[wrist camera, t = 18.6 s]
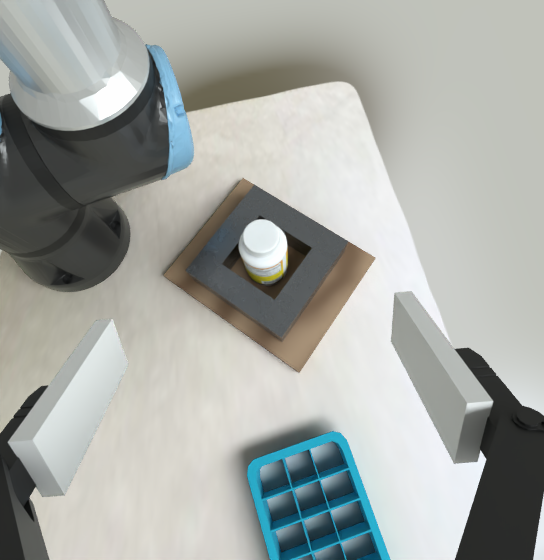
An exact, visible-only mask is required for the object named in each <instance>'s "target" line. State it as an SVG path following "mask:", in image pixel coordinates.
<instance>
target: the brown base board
mask: <svg viewBox="0 0 544 560" xmlns="http://www.w3.org/2000/svg"><path fill="white" fill-rule="evenodd" d="M253 186H254V184H252V183H250V182H249V181H247V180H245V179H244V178H243V179H242V180H241V181H240V182H239V184H238V185H237V186H236V187H235V188H234V190H233V191H232V192H231V193H230V195H229V196H228V197H227V198H226V199H225V201H224V202H223V203H222V204H221V206H220V207H219V208H218V209H217V210H216V212H215V213H214V214H213V215H212V217H211V218H210V219H209V220H208V221H207V223H206V224H205V225H204V226H203V228H202V229H201V230H200V231H199V232H198V234H197V235H196V236H195V237H194V239H193V240H192V241H191V242H190V243H189V245H188V246H187V247H186V248H185V250H184V251H183V252H182V253H181V254H180V256H179V257H178V258H177V259H176V261H175V262H174V263H173V264H172V265H171V267H170V268H169V269H168V270H167V272H166V273H165V274H164V276H165V277H166V278H167V279H169V280H170V281H171V282H173V283H174V284H176V285H177V286H178V287H180V288H181V289H183V290H184V291H185V292H187V293H188V294H190V295H191V296H192V297H194V298H195V299H197V300H198V301H199V302H201V303H202V304H204V305H205V306H206V307H208V308H209V309H211V310H212V311H213V312H215V313H216V314H218V315H219V316H220V317H222V318H223V319H225V320H226V321H227V322H229V323H230V324H232V325H233V326H234V327H236V328H237V329H239V330H240V331H241V332H243V333H244V334H246V335H247V336H248V337H250V338H251V339H253V340H254V341H255V342H257V343H258V344H260V345H261V346H262V347H264V348H265V349H267V350H268V351H269V352H271V353H272V354H274V355H275V356H276V357H278V358H279V359H281V360H282V361H283V362H285V363H286V364H288V365H289V366H290V367H292V368H293V369H295V370H296V371H297V372H300V371H301V369H302V368H303V366H304V365H305V363H306V362H307V360H308V359H309V357H310V356H311V354H312V353H313V351H314V350H315V348H316V347H317V345H318V344H319V342H320V341H321V339H322V338H323V336H324V335H325V333H326V332H327V330H328V329H329V327H330V326H331V324H332V323H333V321H334V320H335V318H336V317H337V315H338V314H339V312H340V311H341V309H342V308H343V306H344V305H345V303H346V302H347V300H348V299H349V297H350V296H351V294H352V293H353V291H354V290H355V288H356V287H357V285H358V284H359V282H360V281H361V279H362V278H363V276H364V275H365V273H366V272H367V270H368V269H369V267H370V266H371V264H372V263H373V261H374V260H375V257H373V256H372V255H370V254H368V253H367V252H365V251H363V250H362V249H360V248H358V247H357V246H355V245H353V244H352V243H350V242H348V244H347V246H346V249H345V251H344V254H343V255H342V257H341V258H340V260H339V261H338V262H337V264H336V265H335V267H334V268H333V270H332V271H331V273H330V274H329V275H328V277H327V278H326V280H325V281H324V283H323V284H322V286H321V287H320V288H319V290H318V291H317V293H316V294H315V296H314V297H313V299H312V300H311V301H310V303H309V304H308V306H307V307H306V309H305V310H304V312H303V313H302V314H301V316H300V317H299V319H298V320H297V322H296V323H295V325H294V326H293V327H292V329H291V330H290V332H289V333H288V335H287V336H286V338H285V339H284V340H283V342H281V341H280V340H278V339H277V338H275V337H274V336H273V335H271V334H270V333H268V332H267V331H265V330H264V329H263V328H261V327H260V326H258V325H257V324H256V323H254V322H253V321H251V320H250V319H248V318H247V317H246V316H244V315H243V314H241V313H240V312H238V311H237V310H236V309H234V308H233V307H231V306H230V305H228V304H227V303H226V302H224V301H223V300H221V299H220V298H218V297H217V296H216V295H214V294H213V293H211V292H210V291H208V290H207V289H206V288H204V287H203V286H201V285H200V284H198V283H197V282H196V281H194V280H193V279H192V278H191V276H190V275H189V274H188V273H187V272H186V271H185V270H186V269H187V268H188V266H189V265H190V264H191V263H192V261H193V260H194V259H195V258H196V256H197V255H198V254H199V253H200V251H201V250H202V249H203V248H204V246H205V245H206V244H207V243H208V241H209V240H210V239H211V238H212V237H213V235H214V234H215V233H216V232H217V230H218V229H219V228H220V227H221V225H222V224H223V223H224V222H225V220H226V219H227V218H228V217H229V215H230V214H231V213H232V212H233V210H234V209H235V208H236V207H237V205H238V204H239V203H240V202H241V200H242V199H243V198H244V197H245V195H246V194H247V193H248V192H249V191H250V189H251V188H252V187H253ZM287 250H288V270H287V273H286V275H285V277H284V278H283V279H282V280H281V281H280V282H278V283H276V284H274V285H270V286H264V285H260V284H257V283H256V282H254V281H253V280H252V279H251V278H250V277H249V275H248V273H247V270H246V268H245V265H244V263H243V260H242V257H240V258H239V259H238V260H237V262H236V263H235V264H234V266H233V267H232V268H231V271H233V272H234V273H236V274H237V275H239V276H240V277H242V278H243V279H245V280H246V281H248V282H249V283H251V284H252V285H254V286H255V287H256V288H258V289H259V290H261V291H262V292H264V293H265V294H267V295H268V296H270V297H271V298H273V299H274V300H275V299H276V297H277V296H278V295H279V293H280V292H281V290H282V289H283V288H284V286H285V285H286V284H287V282H288V281H289V279H290V278H291V277H292V275H293V274H294V272H295V271H296V270H297V268H298V267H299V265H300V264H301V263H302V261H303V260H304V259H305V257H306V256H304V255H303V254H301V253H300V252H298V251H297V250H295V249H293V248H292V247H290V246H289V245H287Z"/></svg>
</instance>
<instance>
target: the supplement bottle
mask: <svg viewBox="0 0 544 560" xmlns="http://www.w3.org/2000/svg"><path fill="white" fill-rule="evenodd" d="M239 252H240V255H241V257H242V260H243V263H244V265H245V268H246V270H247V273H248V275H249V277H250V278H251V279H252V280H253V281H254V282H256V283H257V284H260V285H264V286H270V285H274V284H276V283H278V282H280V281H281V280H282V279H283V278H284V277H285V275H286V273H287V270H288V250H287V239H286V236H285V234H284V233H283V231H282V230H281V229H280V228H279V227H278V226H276V225H275V224H274V223H272V222H271V221H268V220H264V219H259V220H255V221H253V222H251V223H249V224H248V225H247V226H246V228H245V230H244V232H243V233H242V235H241V237H240V240H239Z"/></svg>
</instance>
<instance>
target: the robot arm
mask: <svg viewBox="0 0 544 560" xmlns="http://www.w3.org/2000/svg"><path fill="white" fill-rule="evenodd" d="M0 59H1V60H2V61H3V62H4V64H5V65H6V66H7V67H8V68H9V69H10V75H9V87H10V92H11V94H8V95H4V96H1V97H0V249H1V250H4V251H6V252H8V253H9V254H10V255H11V257H12V258H13V259H14V260H15V261H16V263H17V264H18V265H19V266H20V268H21V269H22V270H23V271H24V272H25V273H26V274H27V275H28V276H29V277H30V278H31V279H33V280H34V281H36V282H37V283H39V284H41V285H44V286H46V287H48V288H51V289H53V290H57V291H63V292H74V291H81V290H85V289H88V288H90V287H93V286H95V285H97V284H99V283H101V282H102V281H104V280H105V279H106V278H108V277H109V276H110V275H111V274H112V273H113V272H114V271H115V270H116V269H117V268H118V266H119V265H120V264H121V262H122V261H123V259H124V257H125V255H126V253H127V250H128V247H129V242H130V226H129V222H128V219H127V217H126V215H125V213H124V212H123V210H122V209H121V208H120V207H119V206H118V205H117V203H116V202H115V201H114V200H113V199H112V198H110V197H112V196H115V195H118V194H121V193H124V192H127V191H130V190H132V189H135V188H138V187H141V186H144V185H147V184H150V183H153V182H155V181H158V180H164V179H166V178H168V177H169V176H170V175H171V174H173V173H176V172H178V171H180V170H183V169H185V168H187V167H188V166H189V165H190V164H191V162H192V160H193V157H194V146H193V140H192V135H191V130H190V126H189V122H188V118H187V115H186V112H185V110H184V105H183V102H182V98H181V94H180V90H179V87H178V84H177V82H176V79H175V75H174V73H173V70H172V67H171V65H170V63H169V60H168V58H167V56H166V54H165V52H164V50H163V49H162V48H161V47H159V46H157V45H153V46H150V45H147V44H146V45H145V44H144V42H143V40H142V39H141V37H140V36H139V35H138V33H137V32H136V31H135V30H134V29H133V28H132V27H130V26H129V25H128V24H126V23H125V22H122V21H121V20H119V19H116V18H114V17H112V16H111V14H110V12H109V10H108V8H107V6H106V4H105V1H104V0H0ZM391 342H392V344H393V346H394V348H395V350H396V352H397V354H398V356H399V358H400V360H401V362H402V363H403V365H404V367H405V369H406V371H407V373H408V375H409V377H410V379H411V381H412V383H413V385H414V387H415V389H416V391H417V393H418V394H419V396H420V398H421V400H422V402H423V404H424V406H425V408H426V410H427V412H428V414H429V416H430V418H431V420H432V422H433V424H434V426H435V427H436V429H437V431H438V433H439V435H440V437H441V439H442V441H443V443H444V445H445V447H446V449H447V451H448V453H449V455H450V457H451V459H452V460H453V462H454V464H455V463H468V462H477V461H478V457H479V454H480V450H481V451H482V453H483V454H484V456H485V458H486V459H487V460H486V463H485V466H484V469H483V472H482V475H481V479H480V482H479V485H478V488H477V491H476V495H475V498H474V501H473V504H472V507H471V510H470V514H469V517H468V520H467V523H466V526H465V529H464V533H463V536H462V539H461V542H460V545H459V548H458V552H457V555H456V558H455V560H533V556H534V549H535V543H536V537H537V531H538V525H539V519H540V512H541V506H542V499H543V494H544V416H543V415H542V414H541V413H539V412H538V411H535V410H534V409H532V408H529V407H525V406H522V405H521V404H520V403H519V401H518V400H517V399H516V398H515V396H514V395H513V394H512V393H511V391H510V390H509V389H508V388H507V387H506V385H505V384H504V383H503V382H502V381H501V379H500V378H499V377H498V376H496V373H495V372H494V371H493V370H492V368H490V367H489V365H488V364H487V362H485V360H484V359H483V358H482V356H480V355H479V354H477V353H476V352H474V351H473V350H471V349H469V348H461V349H454V348H453V346H452V345H451V344H450V342H449V341H448V340H447V338H446V337H445V336H444V334H443V333H442V332H441V330H440V329H439V328H438V326H437V325H436V324H435V322H434V321H433V320H432V318H431V317H430V316H429V314H428V313H427V312H426V310H425V309H424V308H423V306H422V305H421V304H420V302H419V301H418V299H417V298H416V297H415V295H414V294H413V293H412V291H409V292H398V293H395V295H394V308H393V321H392V335H391ZM128 365H129V364H128V361H127V359H126V356H125V353H124V350H123V347H122V344H121V342H120V339H119V336H118V333H117V330H116V328H115V325H114V322H113V319H103V320H96V321H95V322H94V324H93V325H92V327H91V328H90V329H89V331H88V332H87V333H86V335H85V336H84V338H83V339H82V340H81V342H80V343H79V344H78V346H77V347H76V349H75V350H74V351H73V353H72V354H71V356H70V357H69V358H68V360H67V361H66V362H65V364H64V365H63V367H62V368H61V369H60V371H59V372H58V373H57V375H56V376H55V378H54V379H53V380H52V382H51V383H50V385H49V386H41V387H40V388H38V389H37V390H36V391H35V392H34V393H32V394H31V395H30V396H29V397H28V398H27V399H26V401H25V402H24V403H23V405H22V406H21V407H20V408H21V409H19V410H18V411H17V412H16V414H15V415H14V418H13V419H11V420H10V422H9V423H8V424H7V426H6V427H5V428H4V430H3V431H2V432H1V433H0V560H49V557H48V553H47V550H46V547H45V543H44V540H43V536H42V533H41V529H40V526H39V522H38V519H37V515H36V512H35V508H34V505H33V503H32V501H31V500H30V498H29V497H30V495H31V494H32V492H33V490H34V488H35V487H36V488H37V489H38V491H39V492H40V494H41V495H42V497H49V496H62V495H65V494H66V492H67V489H68V487H69V485H70V483H71V481H72V479H73V477H74V475H75V473H76V471H77V469H78V467H79V465H80V463H81V461H82V459H83V457H84V455H85V453H86V451H87V449H88V446H89V444H90V442H91V440H92V438H93V436H94V434H95V432H96V430H97V428H98V426H99V424H100V422H101V420H102V418H103V416H104V414H105V412H106V410H107V408H108V406H109V403H110V401H111V399H112V397H113V395H114V393H115V391H116V389H117V387H118V385H119V383H120V381H121V379H122V377H123V375H124V373H125V371H126V369H127V367H128Z"/></svg>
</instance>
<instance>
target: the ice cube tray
mask: <svg viewBox="0 0 544 560" xmlns="http://www.w3.org/2000/svg"><path fill="white" fill-rule="evenodd" d="M331 441H332V442H334V443H335V444H336V445H337V447H338V448H339V450H340V453H341V456H342V459H343V461H344V464H342V465H339V466H337V467H334V468H331V469H328V470H326V471H323V472H320V473H318V472H317V469H316V466H315V463H314V460H313V457H312V454H311V451H310V449H311V448H314V447H317V446H320V445H323V444H325V443H328V442H331ZM306 450H309V451H310V454H311V457H312V460H313V463H314V466H315V469H316V472H317V474H315V475H312V476H309V477H306V478H304V479H301V480H298V481H295V482H292V480H291V477H290V474H289V471H288V468H287V464H286V461H285V458H286V457H289V456H292V455H295V454H297V453H300V452H303V451H306ZM281 459H282V460H283V463H284V466H285V470H286V473H287V476H288V479H289V483H290V484H287V485H284V486H281V487H279V488H276V489H273V490H270V491H268V492H265V493H264V489H263V486H262V482H261V479H260V469H261V467H262V466H264V465H267V464H270V463H272V462H275V461H278V460H281ZM344 471H347V473H348V476H349V478H350V481H351V484H352V487H353V490H354V492H353V493H350V494H347V495H344V496H342V497H339V498H336V499H333V500H331V501H328V502H327V499H326V496H325V493H324V490H323V487H322V484H321V481H320V480H322V479H325V478H328V477H330V476H333V475H336V474H339V473H341V472H344ZM247 478H248V481H249V485H250V488H251V492H252V496H253V499H254V503H255V506H256V510H257V514H258V517H259V521H260V525H261V528H262V532H263V535H264V539H265V543H266V546H267V550H268V553H269V557H270V560H296V559H299V558H302V557H304V556H307V555H310V554H312V557H313V560H316V558H315V555H314V553H315V552H318V551H320V550H323V549H326V548H328V547H331V546H334V545H336V544H339V543H340V545H341V548H342V551H343V554H344V557H345V560H347V559H346V556H345V553H344V550H343V547H342V544H341V543H342V542H344V541H347V540H350V539H352V538H355V537H358V536H360V535H363V534H366V533H368V532H369V535H370V538H371V540H372V543H373V546H374V549H375V552H374V553H372V554H369V555H366V556H364V557H361V558H358V559H356V560H390V557H389V554H388V552H387V549H386V546H385V543H384V541H383V538H382V535H381V532H380V530H379V527H378V524H377V521H376V519H375V516H374V513H373V510H372V508H371V505H370V502H369V499H368V497H367V494H366V491H365V488H364V486H363V483H362V480H361V477H360V475H359V472H358V469H357V466H356V464H355V461H354V458H353V455H352V453H351V450H350V447H349V444H348V442H347V440H346V439H345V438H344V436H343V435H342V434H341V433H338V432H334V431H332V432H329V433H326V434H323V435H320V436H318V437H315V438H312V439H309V440H306V441H304V442H301V443H298V444H295V445H292V446H290V447H287V448H284V449H281V450H278V451H276V452H273V453H270V454H267V455H264V456H262V457H259V458H256V459H254V460H253V461H252V462H251V463H250V465H249V466H248V472H247ZM317 481H320V484H321V487H322V490H323V493H324V496H325V499H326V502H325V503H323V504H320V505H317V506H314V507H312V508H309V509H306V510H303V511H301V509H300V506H299V503H298V500H297V497H296V493H295V489H297V488H300V487H303V486H306V485H308V484H311V483H314V482H317ZM289 491H292V492H293V496H294V499H295V502H296V505H297V509H298V513H295V514H293V515H290V516H287V517H284V518H282V519H279V520H276V521H272V517H271V514H270V510H269V507H268V503H267V499H270V498H273V497H275V496H278V495H281V494H284V493H286V492H289ZM355 501H358V504H359V507H360V509H361V512H362V515H363V518H364V522H361V523H359V524H356V525H353V526H351V527H348V528H345V529H343V530H340V531H337V529H336V526H335V523H334V520H333V517H332V514H331V510H334V509H336V508H339V507H342V506H345V505H347V504H350V503H353V502H355ZM328 511H330V514H331V517H332V520H333V523H334V526H335V529H336V532H334V533H332V534H329V535H326V536H324V537H321V538H318V539H316V540H313V541H310V539H309V535H308V532H307V529H306V526H305V522H304V520H307V519H309V518H312V517H315V516H317V515H320V514H323V513H326V512H328ZM299 522H302V525H303V528H304V531H305V535H306V538H307V541H308V543H305V544H302V545H300V546H297V547H294V548H291V549H289V550H286V551H283V552H281V549H280V545H279V542H278V538H277V535H276V531H277V530H280V529H282V528H285V527H288V526H290V525H293V524H296V523H299Z"/></svg>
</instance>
